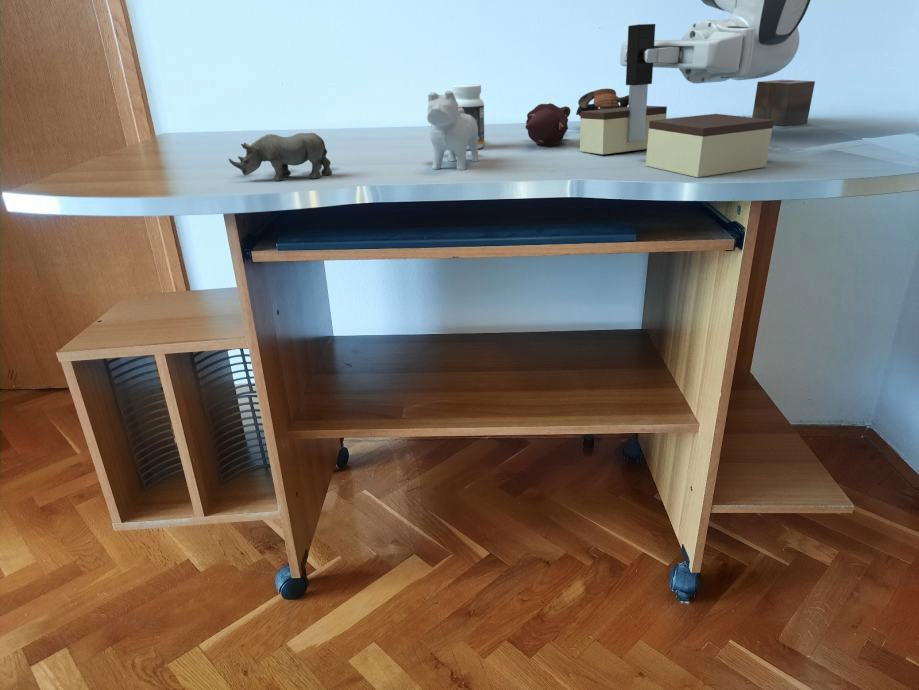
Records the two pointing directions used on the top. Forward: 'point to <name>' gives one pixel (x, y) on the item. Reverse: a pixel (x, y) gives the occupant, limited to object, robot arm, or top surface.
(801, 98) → the knife block
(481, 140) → the pill bottle
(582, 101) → the pottery mug
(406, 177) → the top surface
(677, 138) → the cake
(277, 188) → the top surface
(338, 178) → the top surface
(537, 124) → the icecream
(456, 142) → the dog figurine
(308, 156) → the rhino figurine
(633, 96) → the knife
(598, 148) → the cake slice
